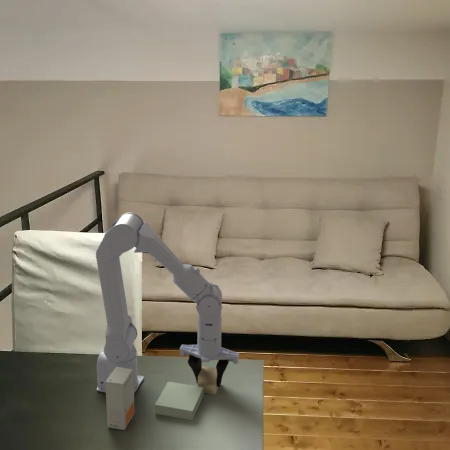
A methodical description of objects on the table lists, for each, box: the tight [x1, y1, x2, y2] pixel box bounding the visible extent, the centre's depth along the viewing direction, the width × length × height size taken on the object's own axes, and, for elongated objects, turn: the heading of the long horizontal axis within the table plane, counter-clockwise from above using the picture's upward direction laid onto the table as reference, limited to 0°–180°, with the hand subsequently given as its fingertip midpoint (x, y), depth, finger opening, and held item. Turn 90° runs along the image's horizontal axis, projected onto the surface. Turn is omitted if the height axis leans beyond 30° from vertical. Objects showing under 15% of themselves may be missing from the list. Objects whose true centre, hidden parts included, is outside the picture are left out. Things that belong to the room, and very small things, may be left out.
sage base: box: [154, 381, 204, 421], centre depth 119 cm, size 9×9×2 cm
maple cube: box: [197, 365, 219, 396], centre depth 125 cm, size 4×4×4 cm
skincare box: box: [105, 367, 135, 431], centre depth 112 cm, size 6×4×12 cm
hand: (209, 382), depth 125 cm, fingers closed on maple cube, 4 cm apart
